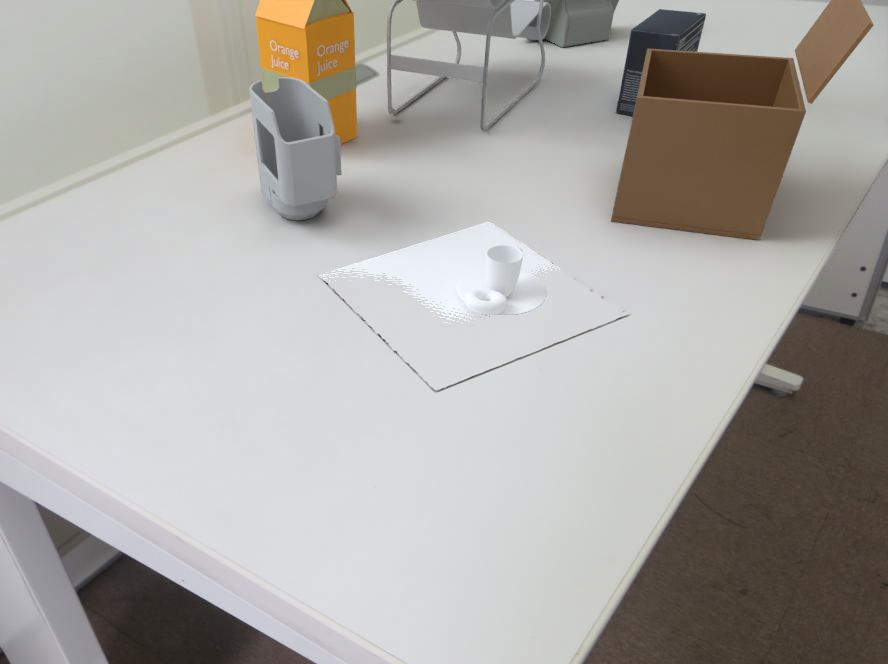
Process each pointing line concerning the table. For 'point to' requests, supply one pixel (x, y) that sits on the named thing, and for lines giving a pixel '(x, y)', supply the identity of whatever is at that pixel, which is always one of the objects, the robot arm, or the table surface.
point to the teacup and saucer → (498, 280)
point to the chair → (476, 12)
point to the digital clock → (579, 21)
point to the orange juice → (312, 52)
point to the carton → (709, 142)
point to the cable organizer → (295, 147)
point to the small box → (656, 47)
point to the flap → (830, 43)
